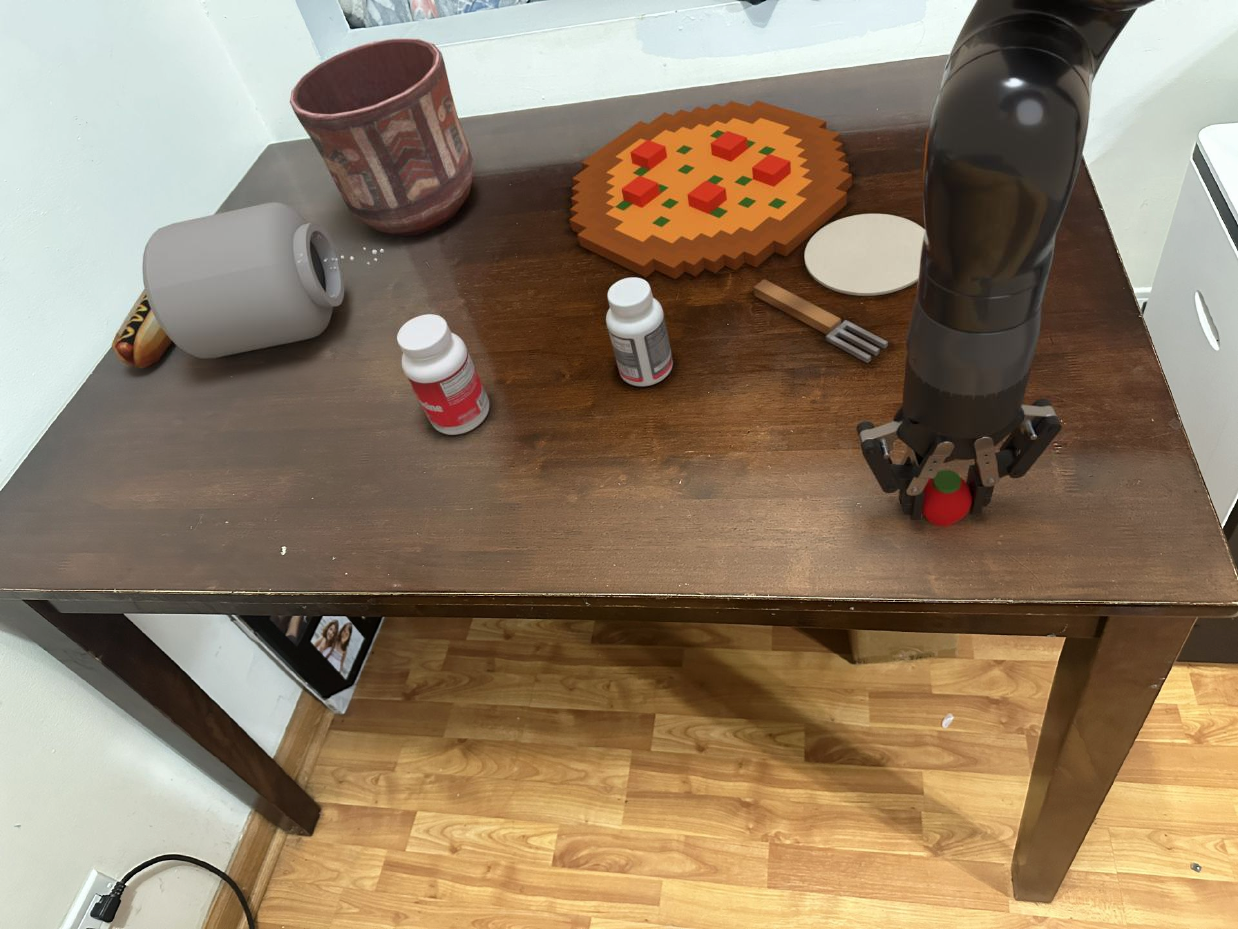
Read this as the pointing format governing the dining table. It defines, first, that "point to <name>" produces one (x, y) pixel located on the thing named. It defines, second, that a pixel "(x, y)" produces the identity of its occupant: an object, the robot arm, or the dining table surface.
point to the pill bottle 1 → (442, 375)
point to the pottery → (388, 134)
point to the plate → (866, 254)
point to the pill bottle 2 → (638, 333)
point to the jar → (242, 280)
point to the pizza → (709, 189)
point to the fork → (820, 320)
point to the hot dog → (140, 336)
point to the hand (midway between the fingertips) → (942, 507)
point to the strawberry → (946, 498)
